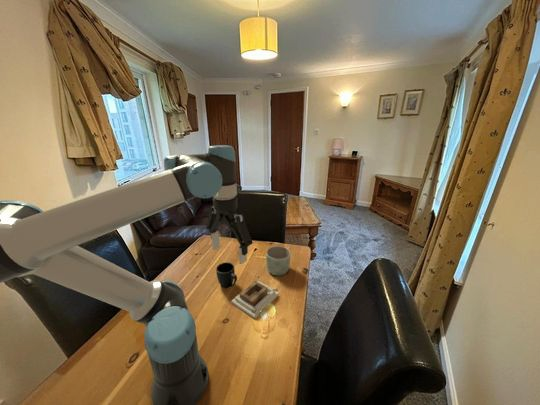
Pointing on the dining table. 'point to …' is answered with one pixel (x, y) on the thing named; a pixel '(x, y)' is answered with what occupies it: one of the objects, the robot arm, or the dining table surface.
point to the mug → (226, 275)
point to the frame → (251, 289)
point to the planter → (278, 260)
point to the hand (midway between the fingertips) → (229, 255)
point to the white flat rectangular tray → (261, 305)
